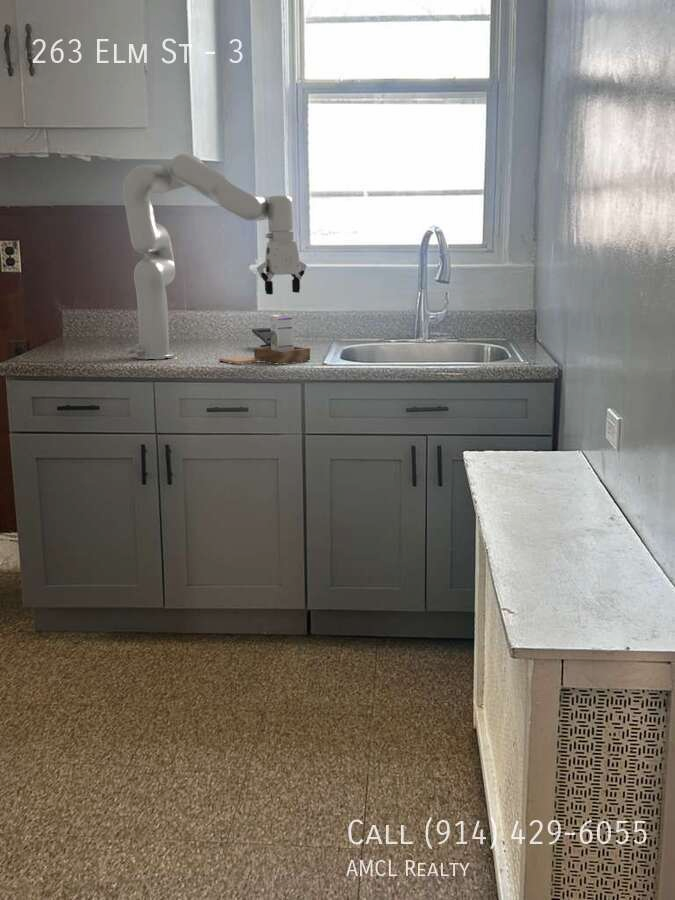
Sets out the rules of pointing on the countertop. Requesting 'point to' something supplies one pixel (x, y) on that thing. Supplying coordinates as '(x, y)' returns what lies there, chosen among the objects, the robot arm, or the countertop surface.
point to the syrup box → (281, 332)
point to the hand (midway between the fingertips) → (282, 293)
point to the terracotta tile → (240, 359)
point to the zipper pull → (263, 335)
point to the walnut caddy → (282, 355)
